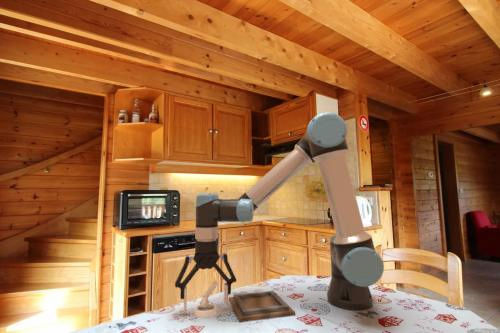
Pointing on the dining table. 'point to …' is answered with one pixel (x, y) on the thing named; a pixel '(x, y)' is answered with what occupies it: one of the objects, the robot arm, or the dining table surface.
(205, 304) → the hook
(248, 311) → the picture frame
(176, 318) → the dining table surface
